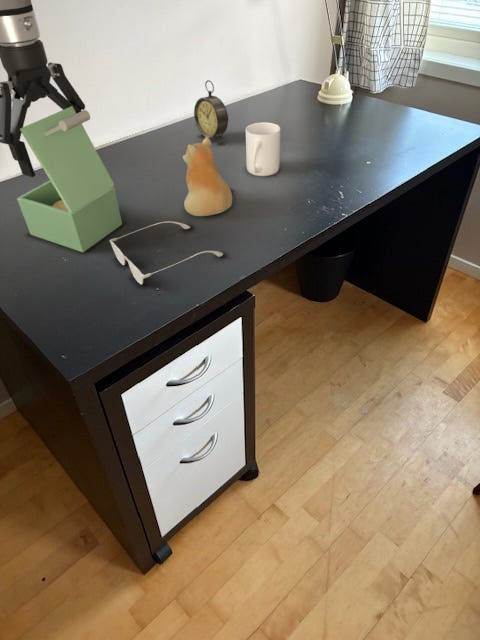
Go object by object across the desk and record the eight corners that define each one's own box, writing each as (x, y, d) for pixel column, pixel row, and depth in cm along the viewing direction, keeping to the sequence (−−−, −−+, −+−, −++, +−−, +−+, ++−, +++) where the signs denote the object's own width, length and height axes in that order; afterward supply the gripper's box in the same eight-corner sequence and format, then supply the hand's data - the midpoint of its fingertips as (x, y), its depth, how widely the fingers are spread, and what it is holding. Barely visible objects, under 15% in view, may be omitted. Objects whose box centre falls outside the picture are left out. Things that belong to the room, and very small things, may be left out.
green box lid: (19, 129, 85) (43, 116, 80) (70, 107, 93) (94, 94, 88) (69, 213, 93) (94, 206, 88) (112, 186, 101) (137, 178, 96)
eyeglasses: (111, 254, 98) (107, 238, 95) (187, 226, 105) (185, 209, 102) (145, 292, 88) (141, 274, 85) (226, 257, 95) (225, 240, 93)
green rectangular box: (30, 234, 105) (16, 198, 99) (71, 209, 113) (60, 173, 107) (83, 252, 99) (71, 214, 93) (122, 224, 107) (114, 187, 101)
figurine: (178, 197, 115) (170, 135, 105) (228, 188, 117) (225, 127, 107) (190, 222, 106) (182, 157, 96) (243, 212, 109) (241, 147, 99)
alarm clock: (195, 137, 143) (189, 78, 132) (209, 132, 146) (204, 74, 135) (218, 146, 137) (214, 86, 126) (232, 141, 139) (229, 82, 129)
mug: (237, 180, 120) (236, 138, 113) (252, 161, 129) (251, 120, 122) (270, 184, 118) (270, 142, 111) (283, 164, 126) (284, 123, 119)
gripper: (-29, 62, 72) (19, 191, 86) (86, 27, 87) (110, 142, 102) (-61, 57, 75) (-9, 183, 89) (56, 24, 90) (84, 136, 105)
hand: (55, 161), depth 95 cm, fingers open, 13 cm apart
